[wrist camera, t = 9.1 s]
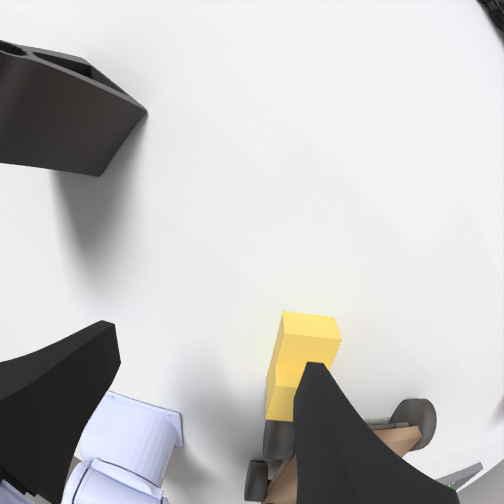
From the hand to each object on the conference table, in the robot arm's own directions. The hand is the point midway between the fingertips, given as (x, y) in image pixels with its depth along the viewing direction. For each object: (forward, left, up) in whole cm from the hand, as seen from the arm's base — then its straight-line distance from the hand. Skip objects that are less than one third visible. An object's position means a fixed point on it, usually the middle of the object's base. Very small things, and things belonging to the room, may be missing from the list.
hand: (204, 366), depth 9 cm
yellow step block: (+6, -7, -11) cm, 14 cm away
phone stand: (-13, +10, -11) cm, 20 cm away
